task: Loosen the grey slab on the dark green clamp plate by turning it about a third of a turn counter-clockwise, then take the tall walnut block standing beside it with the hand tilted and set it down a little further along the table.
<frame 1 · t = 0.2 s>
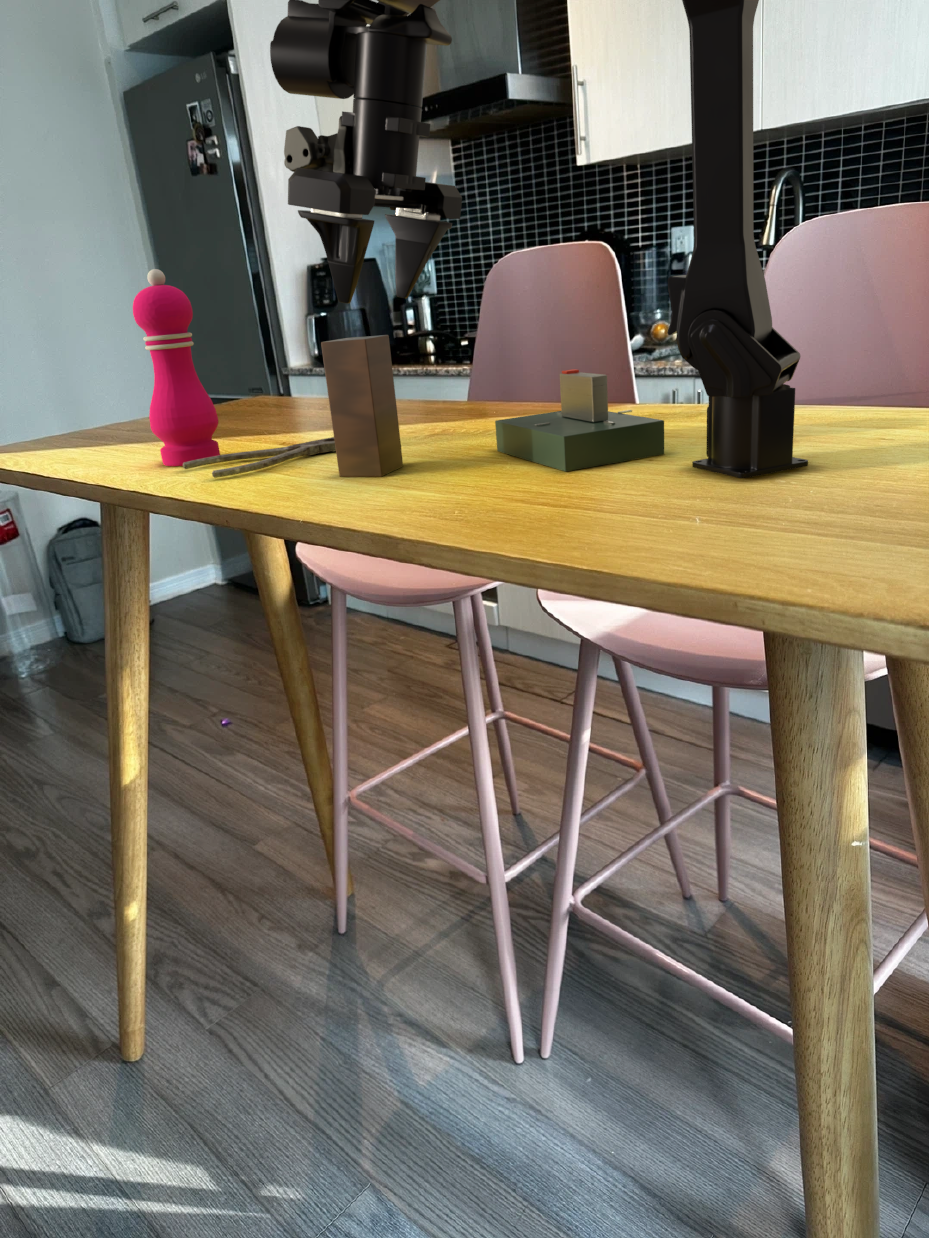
hand: (374, 300, 81), 15 cm above the table, tool pointing down, fingers open, 9 cm apart
pepper mill: (192, 462, 99), on the table
walnut block: (371, 471, 83), on the table
forked twig: (275, 458, 95), on the table
grey slab: (583, 395, 81), point 5 cm above the table, hinge at 0.0°
clamp: (576, 452, 83), on the table
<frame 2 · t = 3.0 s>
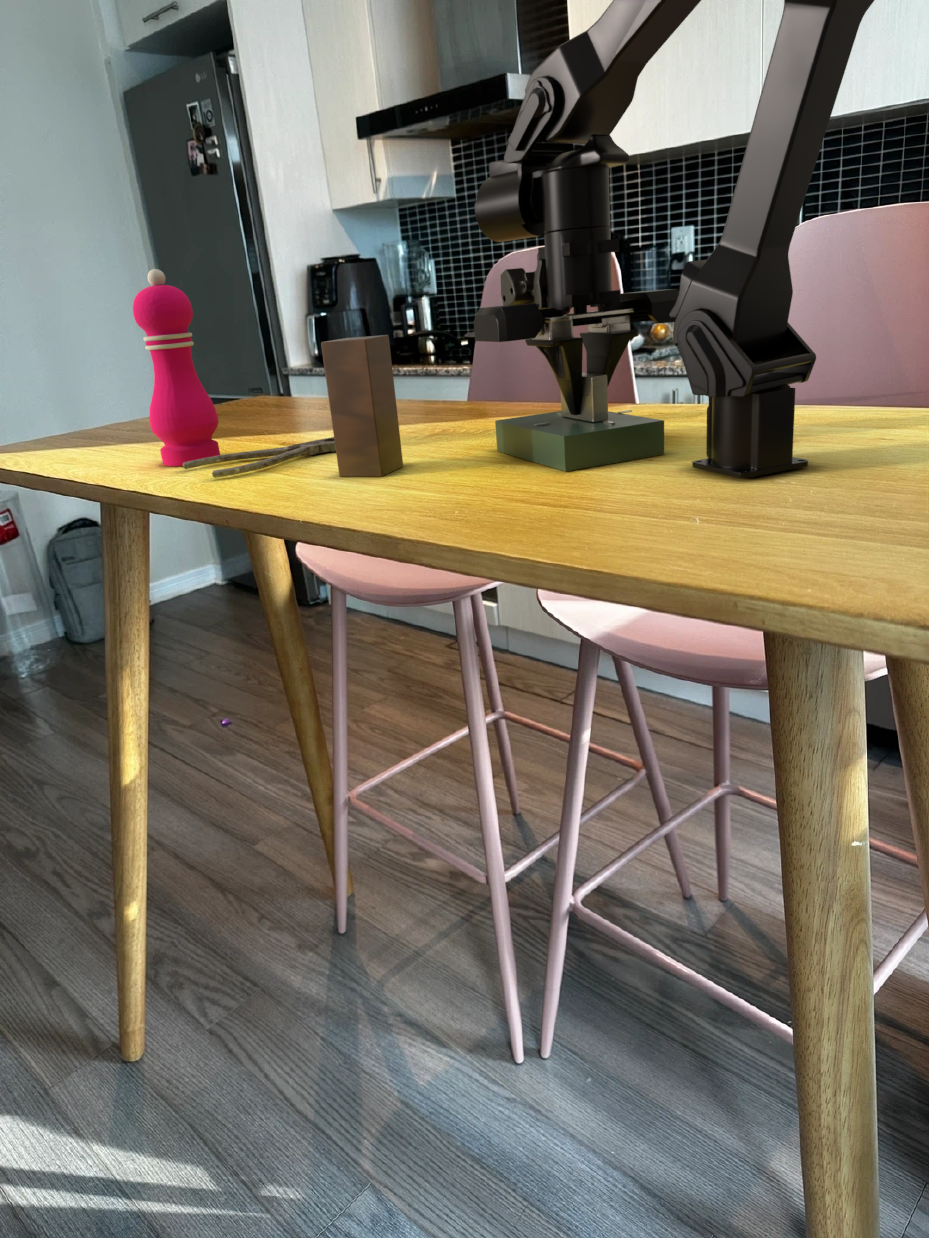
hand: (584, 413, 82), 4 cm above the table, tool pointing down, fingers closed on grey slab, 2 cm apart
grey slab: (583, 395, 81), point 5 cm above the table, hinge at 0.0°, touching gripper
everything else where it was.
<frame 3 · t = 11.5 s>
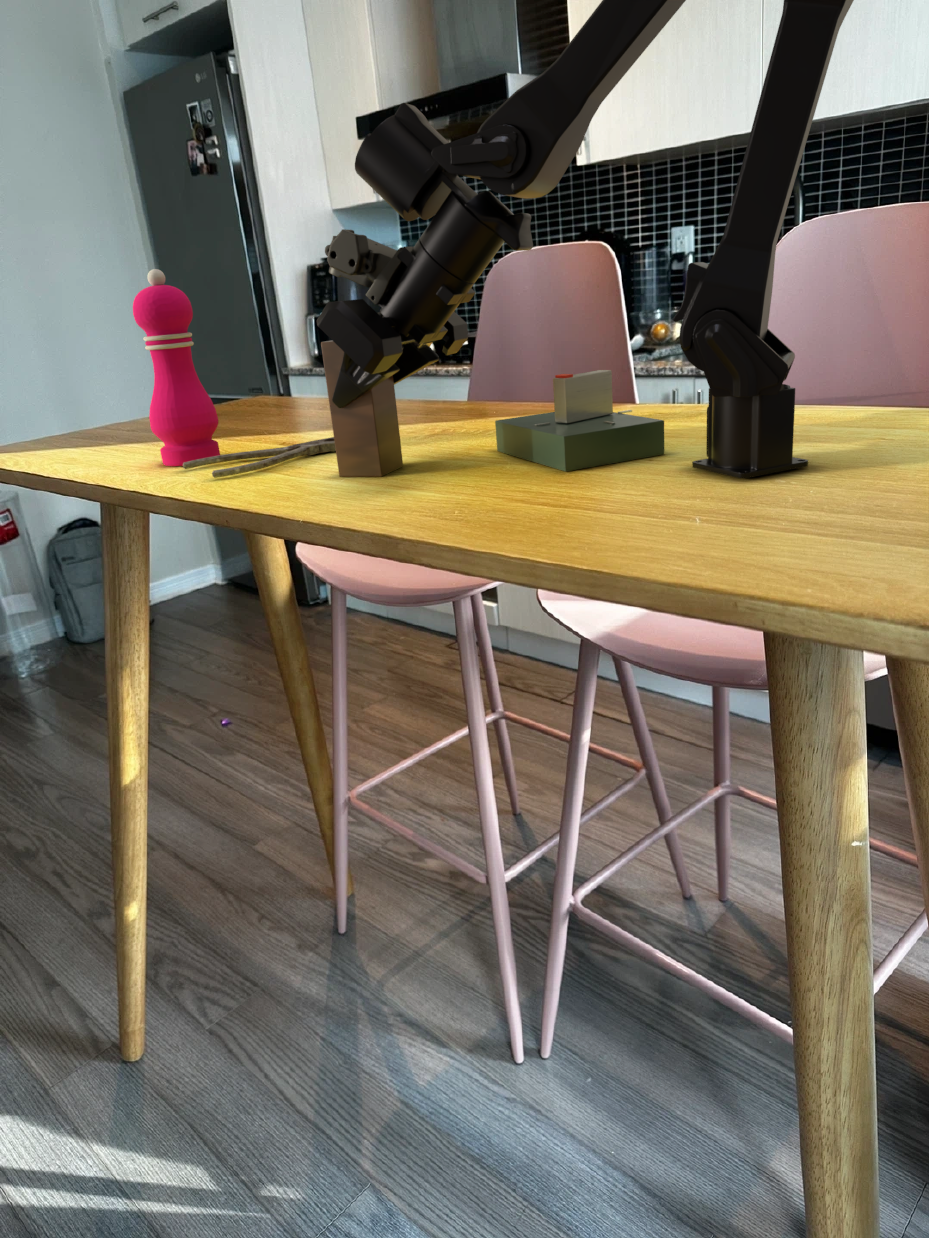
hand: (349, 400, 81), 7 cm above the table, tool tilted 45°, fingers closed on walnut block, 4 cm apart
walnut block: (371, 471, 83), on the table, touching gripper
grey slab: (583, 395, 81), point 5 cm above the table, hinge at 104.6°
everything else where it was.
when the fingers open (7 cm above the table, at t = 16.3 s): walnut block stays where it is, on the table.
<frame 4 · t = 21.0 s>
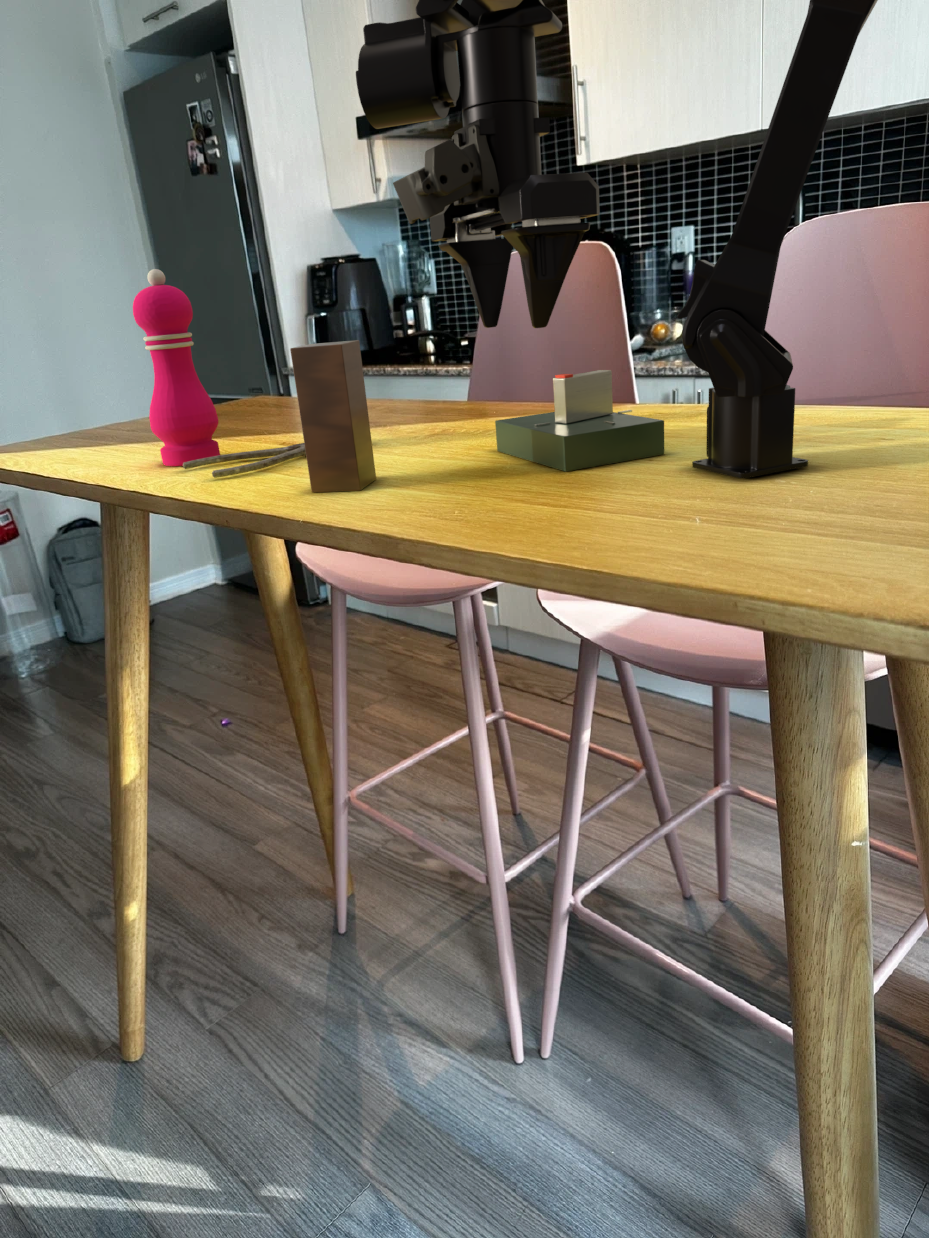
hand: (513, 327, 72), 12 cm above the table, tool pointing down, fingers open, 9 cm apart
walnut block: (344, 485, 78), on the table
everything else where it was.
at the end: grey slab at +105° (first picture: +0°); walnut block 0.0 cm from the target spot, on the table; walnut block tilted 0° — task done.
